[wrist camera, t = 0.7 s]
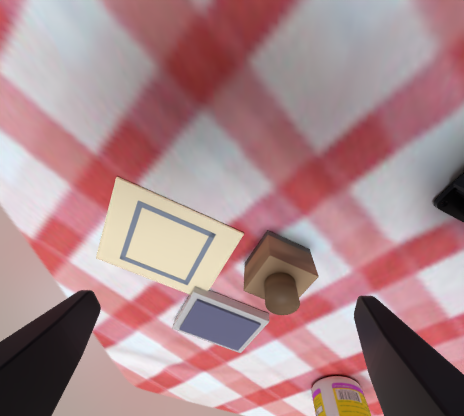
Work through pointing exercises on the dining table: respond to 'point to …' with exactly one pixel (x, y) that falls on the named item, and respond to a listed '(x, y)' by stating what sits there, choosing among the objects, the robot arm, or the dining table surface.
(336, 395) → the supplement bottle
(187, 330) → the ink pad
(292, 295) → the stamp
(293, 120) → the dining table surface
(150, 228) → the sheet
